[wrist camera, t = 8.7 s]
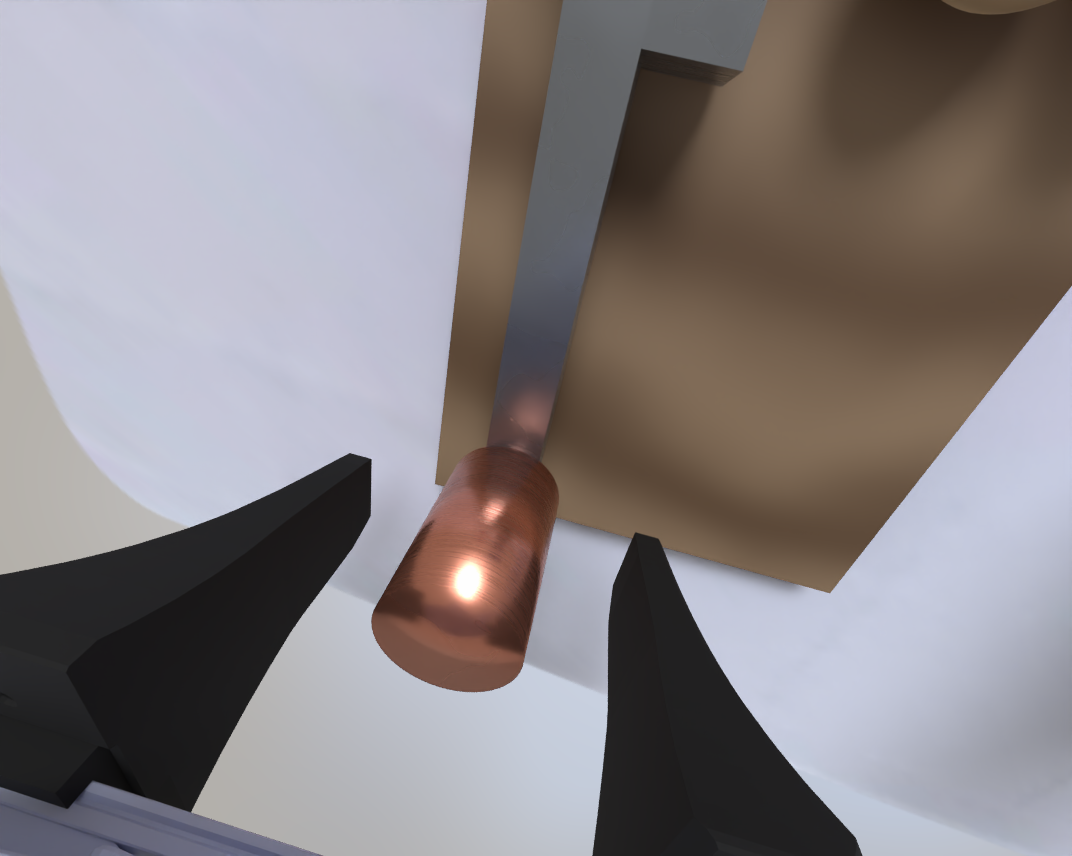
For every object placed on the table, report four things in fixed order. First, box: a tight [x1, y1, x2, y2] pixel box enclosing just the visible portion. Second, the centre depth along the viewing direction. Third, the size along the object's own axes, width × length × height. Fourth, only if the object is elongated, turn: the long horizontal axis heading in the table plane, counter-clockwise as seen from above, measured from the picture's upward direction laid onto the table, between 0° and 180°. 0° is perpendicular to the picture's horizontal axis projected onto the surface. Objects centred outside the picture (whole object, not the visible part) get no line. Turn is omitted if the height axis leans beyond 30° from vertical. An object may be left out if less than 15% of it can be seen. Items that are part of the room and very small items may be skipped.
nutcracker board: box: [435, 0, 1072, 593], centre depth 11 cm, size 22×15×6 cm
